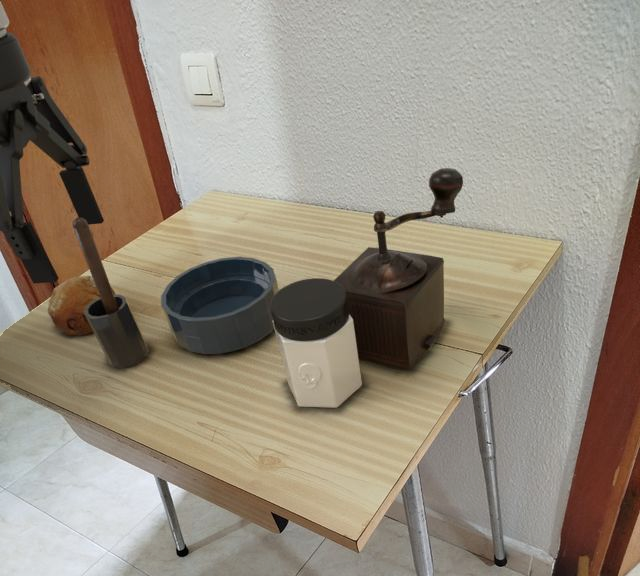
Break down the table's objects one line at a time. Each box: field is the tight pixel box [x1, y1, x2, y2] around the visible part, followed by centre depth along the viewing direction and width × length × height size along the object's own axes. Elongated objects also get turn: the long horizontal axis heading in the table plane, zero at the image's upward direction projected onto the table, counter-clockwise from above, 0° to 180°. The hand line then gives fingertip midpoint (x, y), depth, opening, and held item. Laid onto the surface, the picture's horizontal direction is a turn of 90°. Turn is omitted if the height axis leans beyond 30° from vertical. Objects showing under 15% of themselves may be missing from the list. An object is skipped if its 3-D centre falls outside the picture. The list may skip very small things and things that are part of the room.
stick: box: [71, 216, 118, 314], centre depth 72 cm, size 2×2×20 cm
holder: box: [84, 293, 149, 369], centre depth 77 cm, size 5×6×8 cm
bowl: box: [160, 256, 280, 355], centre depth 80 cm, size 15×15×6 cm
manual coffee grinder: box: [333, 167, 464, 371], centre depth 69 cm, size 16×11×18 cm
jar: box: [270, 277, 363, 409], centre depth 65 cm, size 9×8×12 cm
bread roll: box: [47, 275, 116, 336], centre depth 88 cm, size 10×10×8 cm
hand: (71, 250), depth 69 cm, fingers open, 13 cm apart
